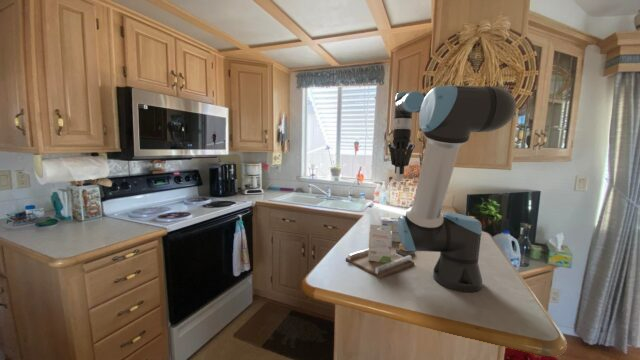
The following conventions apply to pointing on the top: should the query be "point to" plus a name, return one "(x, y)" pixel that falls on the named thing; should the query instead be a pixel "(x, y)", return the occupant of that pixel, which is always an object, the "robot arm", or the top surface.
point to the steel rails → (382, 267)
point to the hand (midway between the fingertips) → (398, 181)
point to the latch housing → (404, 252)
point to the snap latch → (402, 247)
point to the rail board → (371, 265)
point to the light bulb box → (394, 226)
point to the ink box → (380, 243)
